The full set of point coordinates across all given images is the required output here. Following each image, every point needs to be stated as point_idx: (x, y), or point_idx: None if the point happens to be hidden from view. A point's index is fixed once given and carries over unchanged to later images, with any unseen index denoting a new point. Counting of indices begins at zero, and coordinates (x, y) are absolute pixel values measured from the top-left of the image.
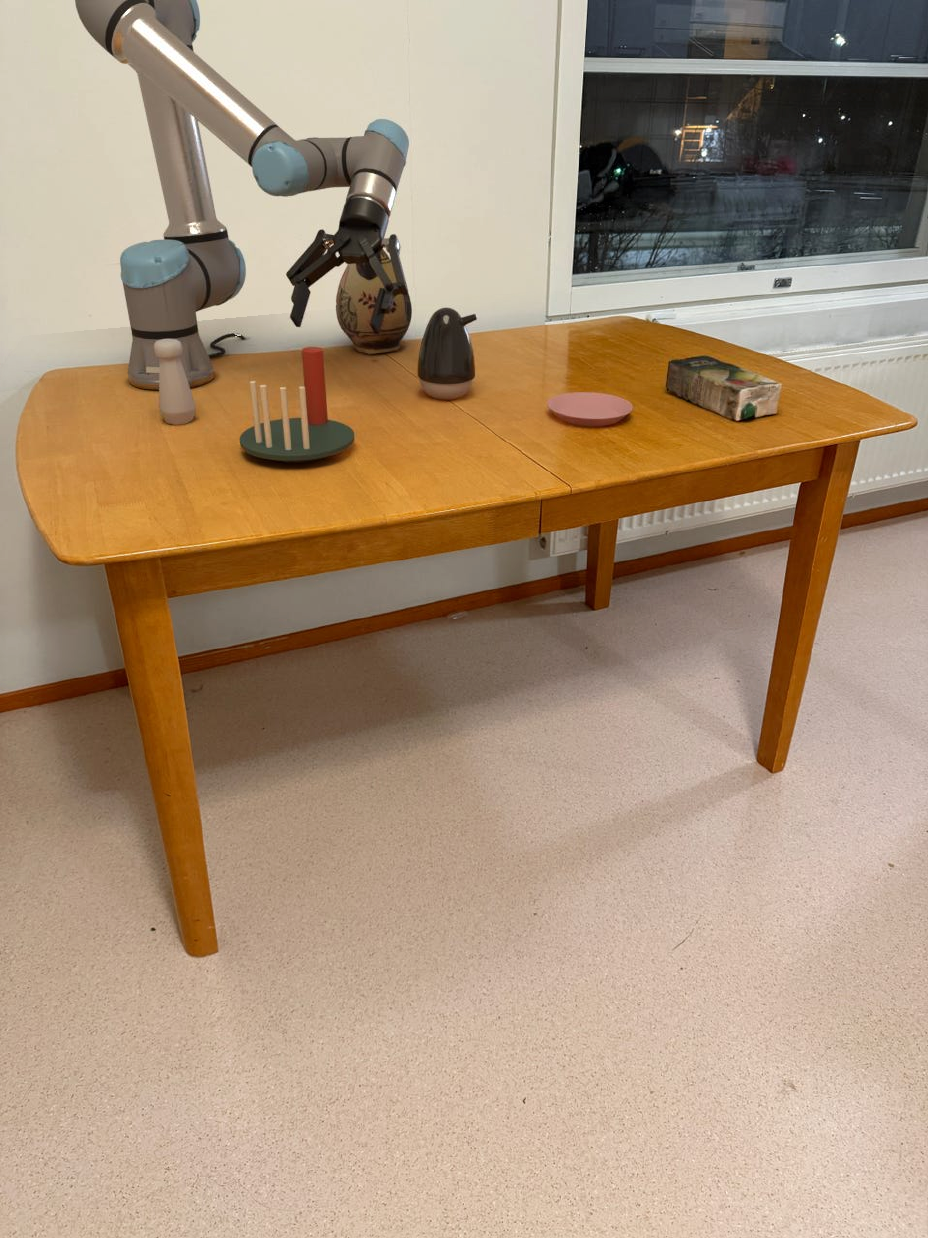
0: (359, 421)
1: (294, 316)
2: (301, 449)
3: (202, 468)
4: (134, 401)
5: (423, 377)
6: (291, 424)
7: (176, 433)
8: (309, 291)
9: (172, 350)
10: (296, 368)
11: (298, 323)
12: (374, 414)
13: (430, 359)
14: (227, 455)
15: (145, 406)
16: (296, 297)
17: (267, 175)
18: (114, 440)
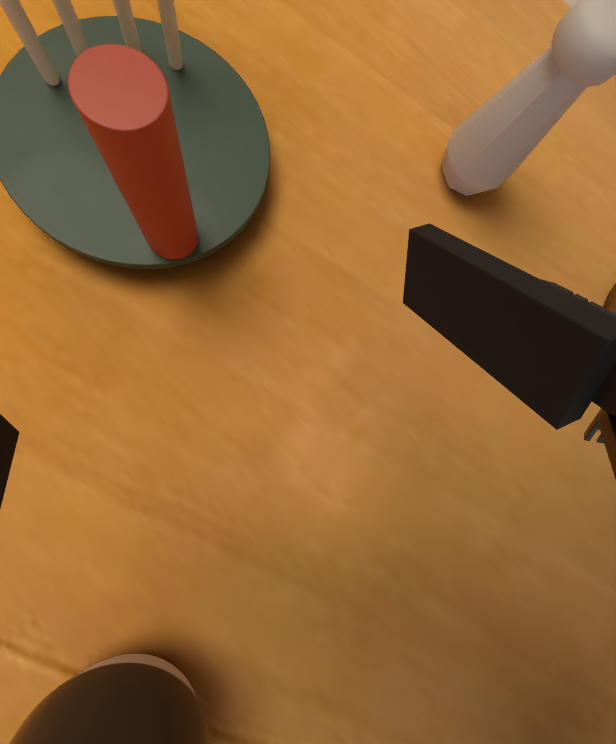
0: (176, 386)
1: (411, 231)
2: (58, 69)
3: (228, 5)
4: (601, 209)
5: (134, 669)
6: (208, 189)
7: (411, 120)
8: (554, 411)
9: (567, 16)
10: (571, 577)
11: (405, 282)
12: (183, 448)
13: (80, 734)
14: (245, 76)
15: (567, 200)
16: (512, 269)
17: None
18: (457, 44)
